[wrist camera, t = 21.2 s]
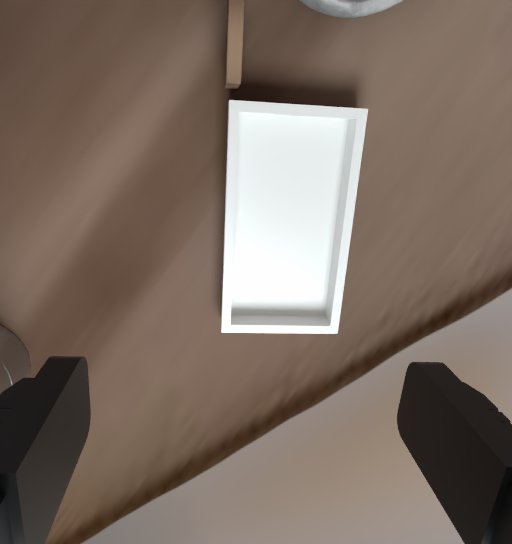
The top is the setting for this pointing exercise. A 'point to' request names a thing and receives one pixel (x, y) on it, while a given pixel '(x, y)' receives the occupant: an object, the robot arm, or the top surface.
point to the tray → (288, 215)
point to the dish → (349, 7)
